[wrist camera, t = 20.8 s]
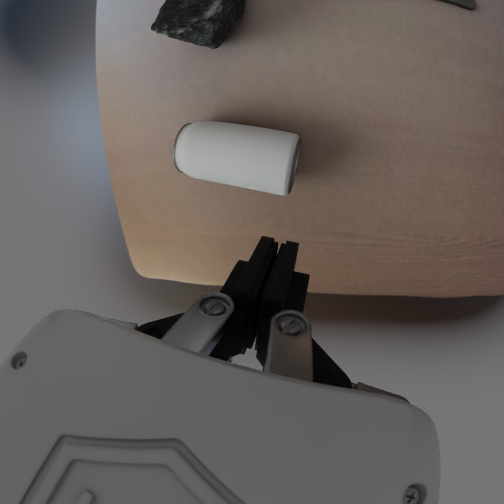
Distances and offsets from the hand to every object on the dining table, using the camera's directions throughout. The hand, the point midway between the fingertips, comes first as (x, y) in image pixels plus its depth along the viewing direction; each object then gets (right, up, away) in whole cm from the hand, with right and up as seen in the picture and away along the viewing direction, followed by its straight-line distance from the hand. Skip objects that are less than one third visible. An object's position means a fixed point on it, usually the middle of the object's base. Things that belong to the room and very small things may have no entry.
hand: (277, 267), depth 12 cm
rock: (-4, +26, +9) cm, 28 cm away
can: (+3, +9, +13) cm, 16 cm away
